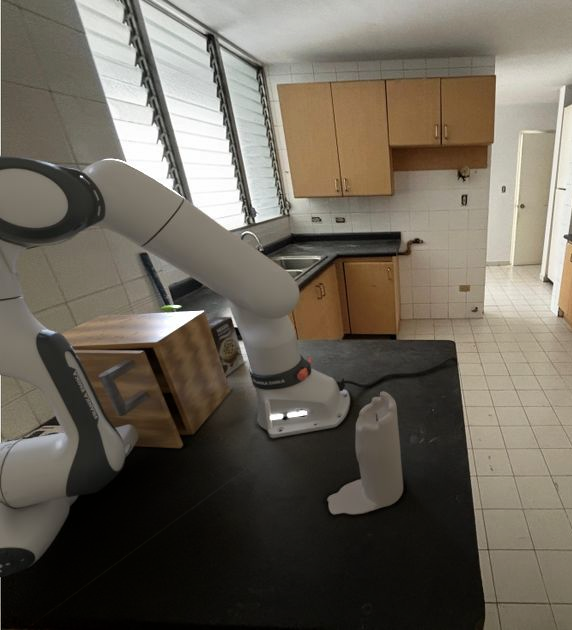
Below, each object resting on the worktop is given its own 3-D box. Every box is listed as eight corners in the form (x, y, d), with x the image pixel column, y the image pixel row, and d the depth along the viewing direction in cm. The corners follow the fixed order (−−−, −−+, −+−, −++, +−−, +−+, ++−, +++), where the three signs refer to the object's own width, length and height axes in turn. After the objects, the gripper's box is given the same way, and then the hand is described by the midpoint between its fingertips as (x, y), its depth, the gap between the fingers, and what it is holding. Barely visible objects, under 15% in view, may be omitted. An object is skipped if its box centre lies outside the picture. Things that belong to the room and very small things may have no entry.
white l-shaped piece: (326, 489, 63) (307, 402, 55) (397, 469, 66) (390, 384, 58) (328, 525, 56) (308, 432, 48) (407, 499, 60) (400, 409, 52)
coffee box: (225, 378, 100) (209, 329, 94) (206, 376, 101) (190, 328, 95) (245, 362, 108) (232, 316, 102) (228, 360, 109) (214, 315, 103)
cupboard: (193, 434, 78) (156, 342, 68) (80, 439, 78) (28, 348, 68) (230, 391, 94) (204, 310, 84) (136, 395, 94) (100, 315, 84)
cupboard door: (158, 469, 69) (111, 369, 59) (46, 463, 71) (-16, 367, 62) (183, 445, 75) (144, 350, 65) (79, 440, 78) (27, 349, 68)
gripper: (119, 445, 61) (139, 403, 73) (-40, 490, 54) (11, 435, 65) (132, 470, 64) (150, 426, 75) (-18, 517, 56) (27, 459, 68)
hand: (85, 430), depth 70 cm, fingers closed
